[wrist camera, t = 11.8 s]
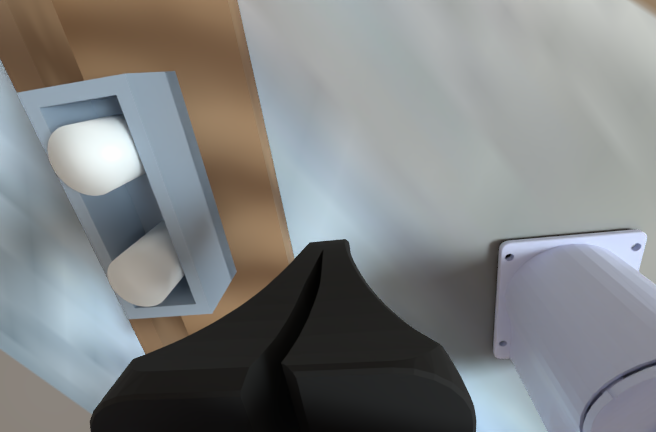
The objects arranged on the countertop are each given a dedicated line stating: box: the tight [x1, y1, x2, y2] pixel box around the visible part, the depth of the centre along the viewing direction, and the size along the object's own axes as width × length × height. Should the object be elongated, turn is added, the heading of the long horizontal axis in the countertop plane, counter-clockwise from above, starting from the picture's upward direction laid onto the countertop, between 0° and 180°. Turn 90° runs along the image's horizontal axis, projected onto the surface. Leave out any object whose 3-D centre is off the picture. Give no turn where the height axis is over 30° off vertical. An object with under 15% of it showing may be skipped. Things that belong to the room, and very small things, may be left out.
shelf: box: [0, 0, 294, 354], centre depth 19 cm, size 22×10×4 cm, turn 9°
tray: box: [17, 71, 237, 319], centre depth 17 cm, size 12×5×5 cm, turn 9°
